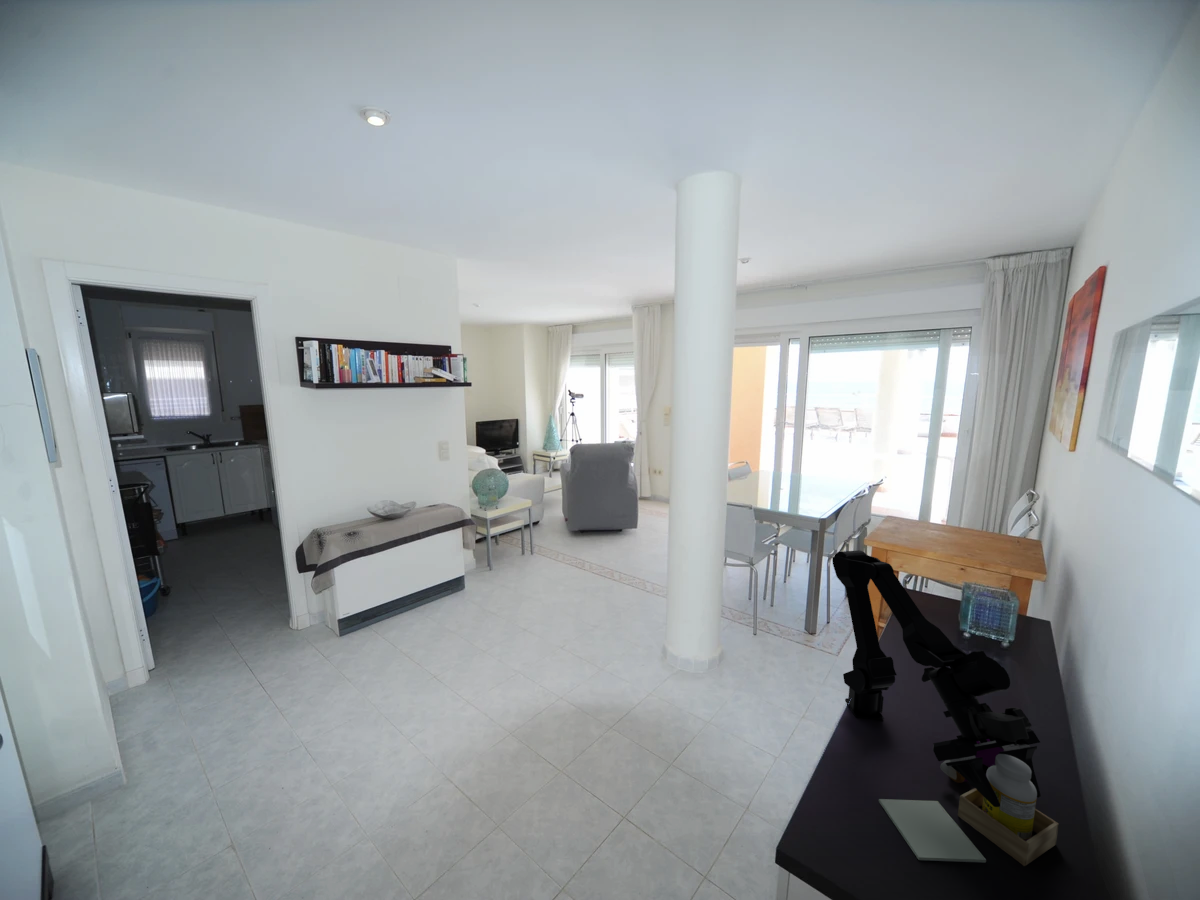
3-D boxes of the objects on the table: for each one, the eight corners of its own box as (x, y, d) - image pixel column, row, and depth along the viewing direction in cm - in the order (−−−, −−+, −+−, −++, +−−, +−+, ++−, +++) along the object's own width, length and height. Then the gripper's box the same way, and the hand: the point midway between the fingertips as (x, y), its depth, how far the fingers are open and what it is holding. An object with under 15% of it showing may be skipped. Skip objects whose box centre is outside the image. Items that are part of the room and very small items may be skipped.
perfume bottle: (1009, 768, 94) (968, 805, 85) (966, 744, 100) (924, 776, 91) (1013, 735, 93) (972, 769, 84) (969, 713, 99) (927, 743, 91)
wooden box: (1024, 866, 73) (1027, 844, 73) (957, 815, 82) (959, 795, 82) (1055, 844, 77) (1058, 823, 77) (988, 798, 86) (990, 779, 86)
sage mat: (918, 860, 74) (919, 857, 74) (878, 801, 85) (879, 799, 85) (985, 862, 74) (986, 859, 74) (937, 803, 85) (937, 801, 85)
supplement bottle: (980, 806, 85) (987, 743, 83) (1028, 827, 80) (1037, 761, 79) (981, 831, 79) (989, 765, 78) (1032, 856, 75) (1042, 786, 74)
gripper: (954, 699, 79) (1017, 811, 70) (1034, 686, 83) (1104, 790, 74) (910, 711, 88) (961, 812, 78) (984, 698, 92) (1042, 793, 82)
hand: (1018, 802), depth 78 cm, fingers open, 9 cm apart
